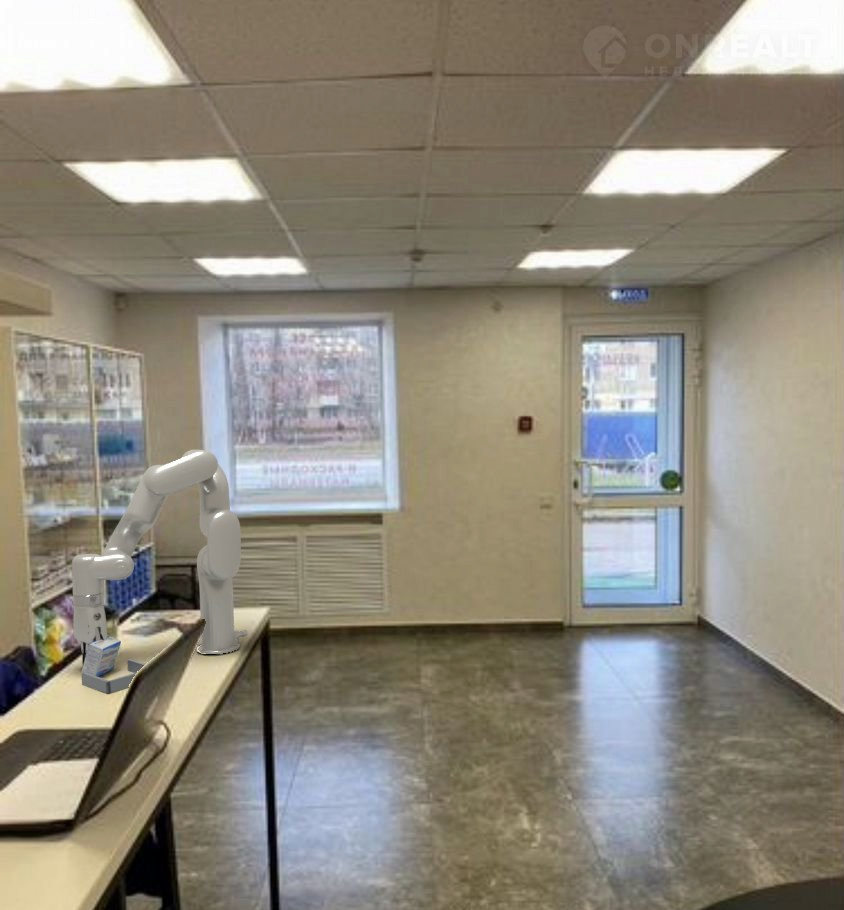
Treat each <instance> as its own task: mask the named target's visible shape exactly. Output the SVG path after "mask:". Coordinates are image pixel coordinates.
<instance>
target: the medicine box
mask: <svg viewBox="0 0 844 910" xmlns="http://www.w3.org/2000/svg"><path fill="white" fill-rule="evenodd" d="M100 640H101V641H95V642H93V643H90V644H89V646H88V650H87V654H86V657H85V661H84V665H83V664H82V670H81V674H82V673H83V672H86V673H89V674H92V675H94V676H97V677H101V676H102V675H104V674H106V673H109V672H110V671H112V670H115V666H116V662H117V658H118V655H119V651H120V647H121V645H122V644H121V643H122V641H121V640H120V639H118V638H116V637H113V636H111V635H107V639H105V640H103V638H102V639H100Z"/></svg>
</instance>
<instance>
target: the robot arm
mask: <svg viewBox="0 0 844 910" xmlns="http://www.w3.org/2000/svg"><path fill="white" fill-rule="evenodd" d="M228 481H229V480H228V478H227V476H226V474H225V471H224V470H223V468H222V467H221V465H220V464H219V462H218V459H217V457H216V455H215V454H214V453H213V452H211V451H210V450H205V449H190V450H188V451H186V452H185V453H183V454H182V456H181V458H178V459H176V460H174V461H171V462H168V463H164V464H155V465H152V466H149V467H148V468H147V469H146V470H145V472H144V473H143V475H142V477H141V479H140V481H139V483H138V485H137V488H136V489H135V492H134V493H133V496H132V498H131V500H130V501H129V504H128V506H127V507H126V509H125V511H124V513H123V515H122V517H121V519H120V520H119V521H118V524H117V525H116V527H115V529H114V530H113V532H112V534H111V536H110V537H109V539H108V541H107V544H106V546H105V548H104V550H103V552H102V554H101V555H100V554H97V553H83V554H78V555H75V556H73V558H72V561H71V576H72V580H71V581H72V607H73V621H72V622H73V624H72V625H73V627H72V628H73V629H72V631H73V638H74V639H75V640H77V642H78V643H79V645H80V648H81V655H82V657H81V658H82V662H81V663H82V666H83V665H84V661H85V657H86V654H87V650H88V646H89V644H90V643H93V642H95V641H101V640H100V639H102V638H103V640H105V639H107V636H108V629H107V619H106V618H107V617H106V611H105V607H104V581H121V580H125V579H127V578H129V577H130V576H131V575H132V573H133V572H134V569H135V568H134V567H135V563H134V560H133V558H132V555H133V552H134V551H135V548H136V547H137V545H138V543H139V541H141V538H142V537H143V536H144V535H145V534H146V533H147V532H148V531H149V530H150V529H151V528H152V527H153V526H155V524H156V522H157V520H158V518H159V516H160V513H161V511H162V509H163V507H164V504H165V503H166V501H167V499H168V497H169V496H171V495H173V494H176V493H179V492H182V491H183V490H186V489H188V488H191V487H193V486H196V485H197V487H198V493H199V530H200V532H201V533H202V534H203V536H204V537H206V540H207V544H206V545H204V546H203V547H202V548H201V549H200V550H199V552H198V553H197V558H196V568H197V576H198V583H199V584H198V585H199V604H200V605H199V609H200V610H199V611H200V612H199V613H200V620H201V619H205V621H206V624H205V627H204V631H203V633H202V636H201V635H200V637H201V640H200V641H201V643H200V644H199V645H201V646H200V647H199V648H198V650H199V651H200V652H201V653H206V654H220V655H224V654H223V653H226V654H229V653H228V652H230V653H233V652H235V651H234V650H236V651H237V649H238V648H239V647H240V648H241V642H240V641H238V640H240V638H245V637H247V636H248V631H247V630H246V629H244V630H240V631H239V630H235V615H234V614H235V613H234V608H235V607H234V586H233V585H234V584H233V577H235V576H236V574H237V573H238V572H239V570H240V567H241V559H242V558H241V557H242V552H241V551H242V548H241V547H242V546H241V544H242V543H241V542H242V541H241V540H242V534H241V533H242V531H241V529H242V528H241V523H240V521H239V518H238V516H237V515H236V514H235V512H233V511H232V510H231V504H230V502H231V500H230V487H229V482H228ZM240 648H239V649H240ZM239 649H238V650H239ZM232 651H233V652H232Z"/></svg>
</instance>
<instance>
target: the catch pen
mask: <svg viewBox="0 0 844 910" xmlns="http://www.w3.org/2000/svg"><path fill="white" fill-rule="evenodd" d="M145 664H146V663H144V662H141V661H138V660H134V659H131V658H128V659H127V671H128V672H131V673H129V674H127V675H126V674H125V675H124V676H120V677H117V678H113V679H111V680H108V679H105V678H103V677H101V676H99V677H97V676H94V675H92V674H89V673H86V672H83V673H82V672H81V684H82V685H83V686H86V687H88V688H91V689H94V690H95V691H97V692H98V691H99V692H101V693H104V694H106V695H110V694H112V693H116V692H120V691H122V690H125V689H128V686H129V684H130V683H131V681H132V679H133V677H134V676H135V674H136V673H137V671H139V670H140V669H141V668H142V667H143V666H144V665H145Z"/></svg>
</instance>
